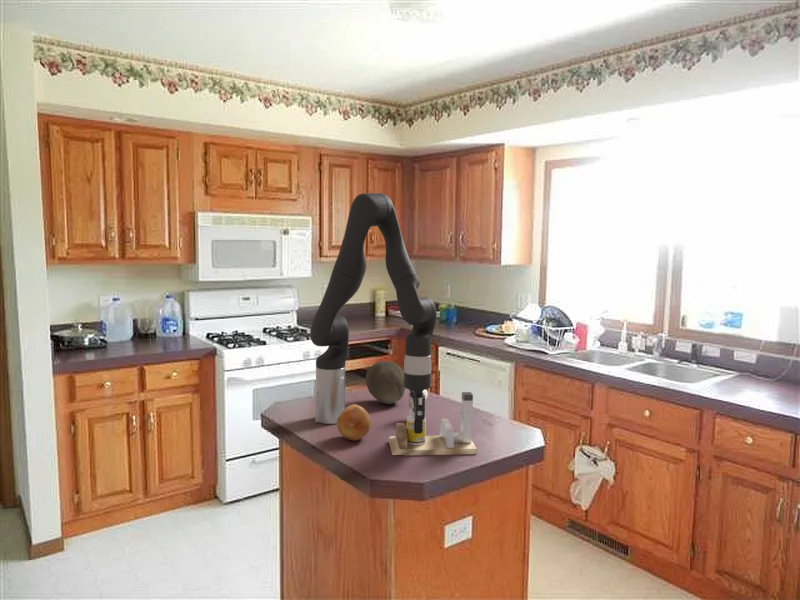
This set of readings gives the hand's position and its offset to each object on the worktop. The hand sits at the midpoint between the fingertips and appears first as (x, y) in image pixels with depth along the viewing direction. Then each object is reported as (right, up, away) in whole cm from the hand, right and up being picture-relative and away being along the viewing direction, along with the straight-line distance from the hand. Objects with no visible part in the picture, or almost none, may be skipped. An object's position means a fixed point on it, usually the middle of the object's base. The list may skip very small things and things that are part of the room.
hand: (416, 427), depth 160 cm
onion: (-18, -5, +7) cm, 20 cm away
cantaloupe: (-10, -1, +43) cm, 45 cm away
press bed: (+4, -6, +1) cm, 7 cm away
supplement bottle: (0, -4, 0) cm, 4 cm away
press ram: (+11, -4, +2) cm, 12 cm away
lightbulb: (+1, -3, +27) cm, 27 cm away
